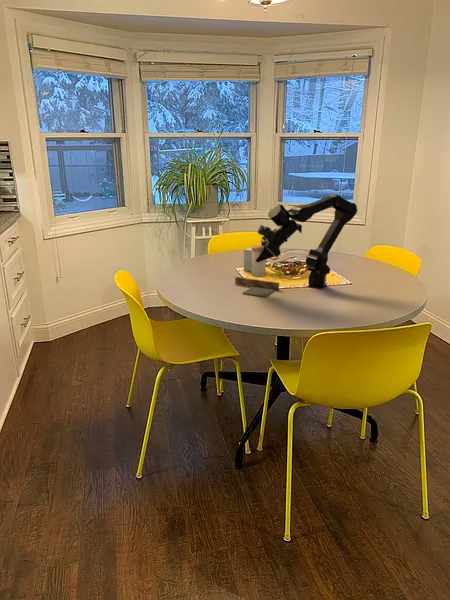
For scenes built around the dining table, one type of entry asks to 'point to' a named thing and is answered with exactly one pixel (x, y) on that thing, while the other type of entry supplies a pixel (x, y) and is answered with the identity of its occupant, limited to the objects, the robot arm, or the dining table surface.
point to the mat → (258, 291)
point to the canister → (258, 267)
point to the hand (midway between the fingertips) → (255, 259)
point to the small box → (248, 259)
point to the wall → (257, 283)
